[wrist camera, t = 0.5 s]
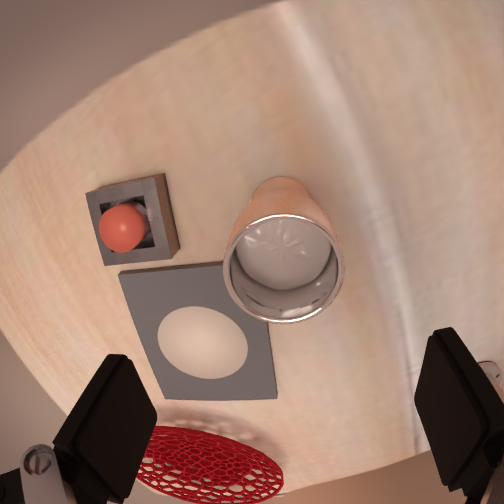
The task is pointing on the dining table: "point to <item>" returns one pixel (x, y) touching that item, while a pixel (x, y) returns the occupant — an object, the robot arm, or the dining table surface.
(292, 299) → the beer glass
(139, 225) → the button
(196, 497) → the bowl
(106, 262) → the button housing
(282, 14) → the dining table surface
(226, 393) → the grey rectangular board
